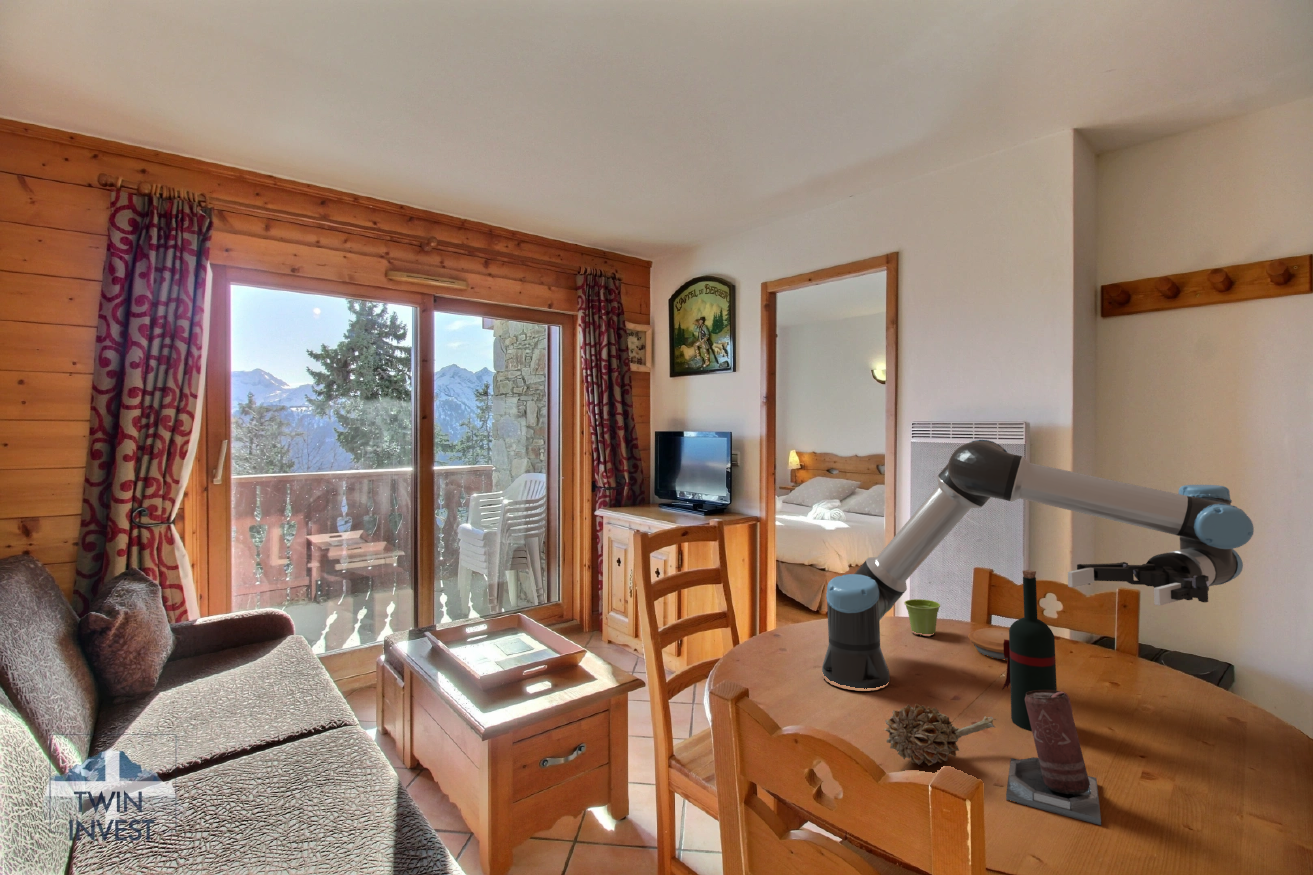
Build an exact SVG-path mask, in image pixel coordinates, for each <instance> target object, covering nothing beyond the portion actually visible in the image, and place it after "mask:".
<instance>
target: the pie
mask: <svg viewBox="0 0 1313 875" xmlns="http://www.w3.org/2000/svg"><path fill="white" fill-rule="evenodd" d="M1009 629H1010V628H1009ZM1009 629H1008V628H1003V627H1002V628H1001V627H985V628H979V629H976V630H974V631H971V632H969V634H968V635H967V636H968V640H970V642H971V643H972V644H973V646H975V648H976V650H977V651H978V653H980V654H981V653H982V654H981V655H983V654H984V655H983V656H985V655H988V656H990V657H993V658H992V659H994V658H997V659H996V660H998V659H1005V660H1008V658H1005V657H1004V645H1003V643H1004V639H1006V640H1009ZM990 657H989V658H990ZM1005 660H1004V661H1005Z"/></svg>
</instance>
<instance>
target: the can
mask: <svg viewBox="0 0 1313 875" xmlns="http://www.w3.org/2000/svg"><path fill="white" fill-rule="evenodd" d="M1025 703H1026V707H1027V712H1028V716H1029V720H1030V725H1031V729H1032V731H1031V733H1032V737H1033V741H1034V744H1035V750H1036V754H1037V758H1038V759H1039V763H1040V767H1041V771H1042V776H1043V780H1044V783H1045V784H1046V786H1047V787H1048V788H1049V789H1051V790H1053V791H1055V792H1059V793H1065V794H1081V793H1085V792H1086V791H1088V789H1089V786H1090V783H1089V779H1088V776H1089V775H1088V771H1087V768H1086V763H1085V759H1084V756H1083V755H1084V754H1083V752H1082V747H1081V743H1080V739H1079V736H1078V732H1077V728H1076V723H1075V719H1074V714H1073V706H1072V704H1071V703H1072V702H1071V700H1070V697H1069V695H1068V694H1067V693H1066V692H1064V691H1060V690H1057V691H1056V690H1034V691H1029V692H1027V693H1026V697H1025Z"/></svg>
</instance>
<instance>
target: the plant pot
mask: <svg viewBox="0 0 1313 875" xmlns="http://www.w3.org/2000/svg"><path fill="white" fill-rule="evenodd" d="M903 603H904V605H905V607H906V610H907V613H908V619H909V625H910V631H911V630H912V631H914V632H916V633H922V634H933V633H935V634H936V632H937V631H936V628H937V620H938V612H939V609H940V607H941V604H940V603H939V602H937V601H934V600H930V599H923V598H922V599H920V598H919V599H918V598H917V599H916V598H915V599H913V598H912V599H907V600H905V601H904V602H903ZM912 631H911V632H912Z"/></svg>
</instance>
